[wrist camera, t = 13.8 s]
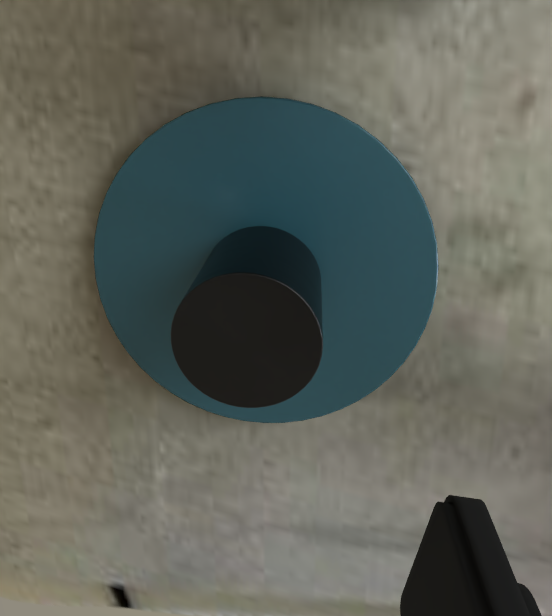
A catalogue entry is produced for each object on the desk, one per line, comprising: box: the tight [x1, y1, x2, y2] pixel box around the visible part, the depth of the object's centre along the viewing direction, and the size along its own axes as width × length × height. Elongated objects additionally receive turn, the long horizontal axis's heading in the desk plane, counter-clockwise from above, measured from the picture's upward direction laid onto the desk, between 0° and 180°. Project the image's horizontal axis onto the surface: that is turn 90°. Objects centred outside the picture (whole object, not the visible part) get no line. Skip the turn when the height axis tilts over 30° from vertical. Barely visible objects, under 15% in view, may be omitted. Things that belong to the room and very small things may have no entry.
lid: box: [94, 96, 438, 423], centre depth 19 cm, size 15×15×7 cm
